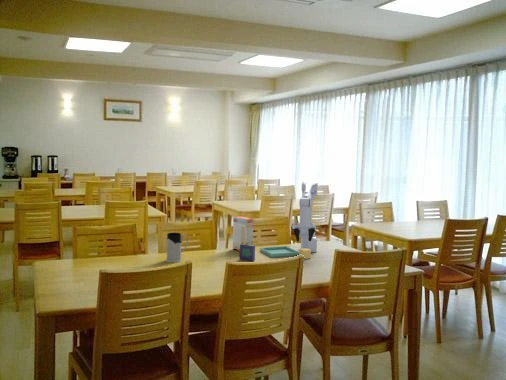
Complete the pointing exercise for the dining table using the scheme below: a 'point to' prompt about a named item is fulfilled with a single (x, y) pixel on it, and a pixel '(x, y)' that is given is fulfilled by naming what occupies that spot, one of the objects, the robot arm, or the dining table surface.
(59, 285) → the dining table surface
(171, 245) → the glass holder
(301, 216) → the robot arm
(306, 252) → the ochre cube
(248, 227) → the cracker box
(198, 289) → the dining table surface
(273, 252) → the teal tray
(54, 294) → the dining table surface
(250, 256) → the blue gift bag
